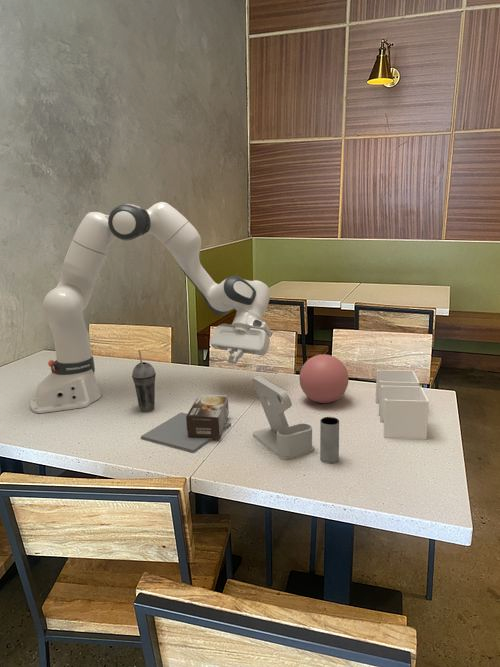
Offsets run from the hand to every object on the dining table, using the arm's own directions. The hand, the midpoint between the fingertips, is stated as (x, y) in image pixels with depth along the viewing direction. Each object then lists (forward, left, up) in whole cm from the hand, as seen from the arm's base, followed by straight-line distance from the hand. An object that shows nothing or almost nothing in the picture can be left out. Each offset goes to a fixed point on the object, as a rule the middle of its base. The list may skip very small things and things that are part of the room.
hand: (231, 362), depth 156 cm
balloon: (+27, -14, -14) cm, 33 cm away
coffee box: (-10, -7, -9) cm, 15 cm away
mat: (-21, -13, -13) cm, 28 cm away
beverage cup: (-26, +9, -14) cm, 31 cm away
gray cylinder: (+4, -46, -14) cm, 48 cm away
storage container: (+35, -38, -14) cm, 53 cm away
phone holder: (-1, -32, -14) cm, 35 cm away
